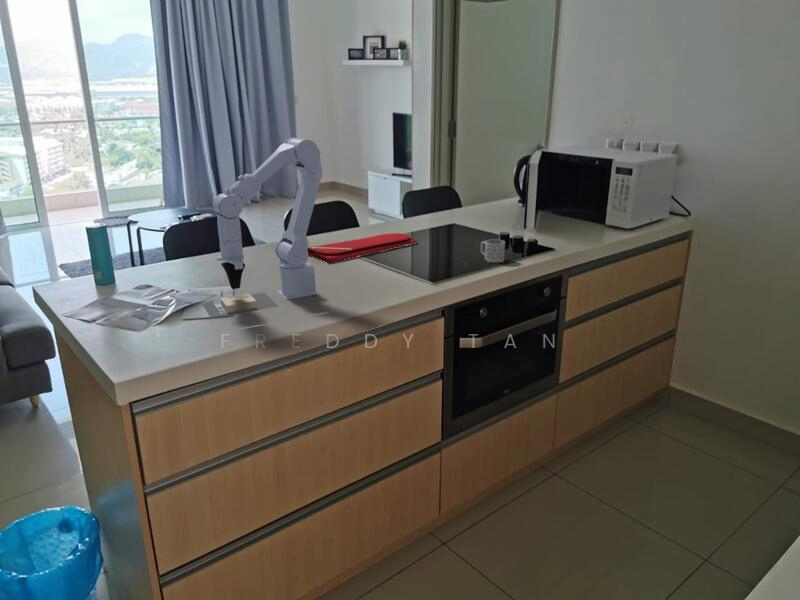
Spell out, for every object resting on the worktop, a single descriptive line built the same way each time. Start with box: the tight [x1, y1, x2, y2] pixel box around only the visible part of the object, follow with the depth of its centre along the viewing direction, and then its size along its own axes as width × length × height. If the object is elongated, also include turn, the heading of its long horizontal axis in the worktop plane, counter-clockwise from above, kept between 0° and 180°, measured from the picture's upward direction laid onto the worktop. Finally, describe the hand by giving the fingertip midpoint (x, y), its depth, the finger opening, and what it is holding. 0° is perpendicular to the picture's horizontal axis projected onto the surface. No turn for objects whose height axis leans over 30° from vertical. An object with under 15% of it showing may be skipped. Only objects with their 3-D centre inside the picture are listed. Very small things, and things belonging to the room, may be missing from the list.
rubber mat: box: [201, 292, 279, 319], centre depth 166 cm, size 18×13×1 cm
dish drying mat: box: [308, 232, 418, 264], centre depth 221 cm, size 16×41×4 cm, turn 130°
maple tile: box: [219, 293, 257, 313], centre depth 164 cm, size 8×2×7 cm
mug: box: [480, 238, 506, 264], centre depth 207 cm, size 10×7×7 cm, turn 37°
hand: (235, 288), depth 164 cm, fingers closed
